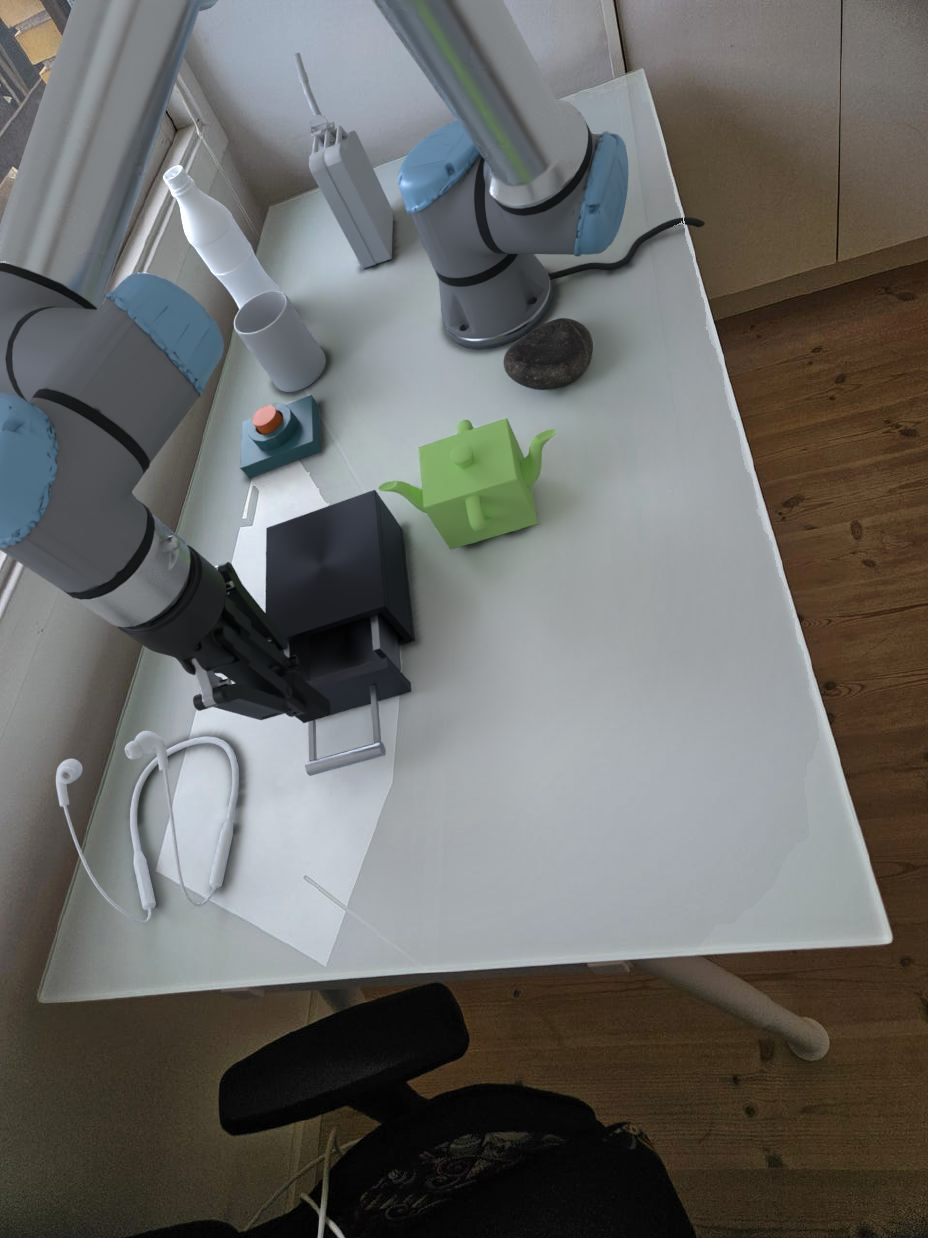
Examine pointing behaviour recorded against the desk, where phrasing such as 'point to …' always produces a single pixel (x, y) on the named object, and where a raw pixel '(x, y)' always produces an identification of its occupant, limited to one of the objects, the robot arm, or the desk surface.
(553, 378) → the stone
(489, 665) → the desk surface
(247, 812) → the desk surface
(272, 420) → the stop button
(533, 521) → the teapot
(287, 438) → the stop button base
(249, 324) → the mug
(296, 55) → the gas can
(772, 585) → the desk surface
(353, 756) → the drawer
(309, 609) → the black box
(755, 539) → the desk surface
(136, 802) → the earphone
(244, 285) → the water bottle
